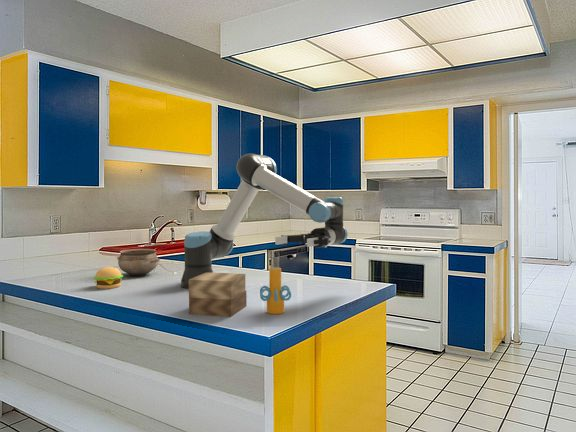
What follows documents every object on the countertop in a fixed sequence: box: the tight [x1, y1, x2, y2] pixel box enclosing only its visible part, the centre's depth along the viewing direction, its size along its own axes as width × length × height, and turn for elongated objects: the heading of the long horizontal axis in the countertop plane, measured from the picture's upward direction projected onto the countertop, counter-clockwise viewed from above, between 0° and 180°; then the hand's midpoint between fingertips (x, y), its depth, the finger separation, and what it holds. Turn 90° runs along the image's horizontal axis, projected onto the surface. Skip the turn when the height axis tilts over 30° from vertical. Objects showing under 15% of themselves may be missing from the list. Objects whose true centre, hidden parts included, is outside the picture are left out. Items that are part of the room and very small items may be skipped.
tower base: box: [188, 290, 248, 318], centre depth 159 cm, size 15×15×6 cm
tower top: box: [188, 272, 246, 300], centre depth 159 cm, size 15×15×6 cm
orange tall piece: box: [259, 267, 292, 315], centre depth 155 cm, size 12×10×15 cm
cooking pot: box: [116, 248, 161, 277], centre depth 229 cm, size 25×19×12 cm
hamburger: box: [93, 266, 124, 290], centre depth 200 cm, size 12×12×9 cm
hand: (291, 241), depth 163 cm, fingers open, 13 cm apart
